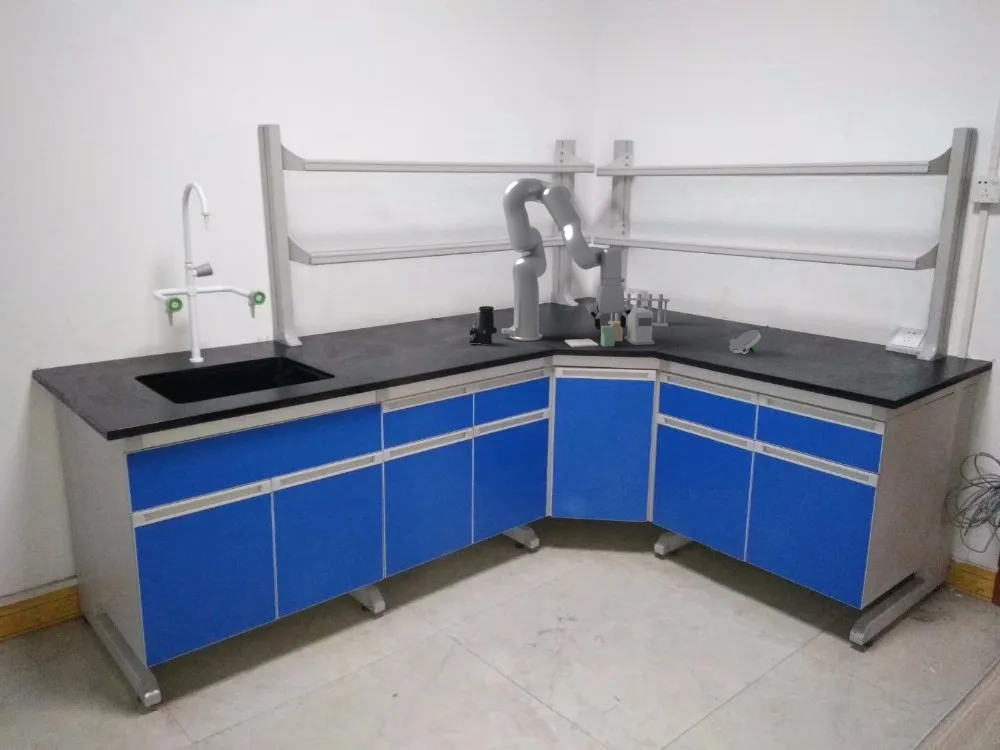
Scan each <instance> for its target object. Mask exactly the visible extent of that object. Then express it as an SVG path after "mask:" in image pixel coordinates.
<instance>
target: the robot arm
mask: <svg viewBox="0 0 1000 750" xmlns="http://www.w3.org/2000/svg"><path fill="white" fill-rule="evenodd" d="M571 195H572V194H571V192H570V189H569V188H568V187H566V186H565V185H562V184H558V183H554V182H550V181H547V180H543V179H540V178H533V177H531V178H530V177H529V178H528V177H527V178H526V177H525V178H523V177H522V178H518V179H516V180H513V182H511V183H510V184H509V185H508V186H507V188H505V190H504V193H503V195H502V207H503V212H504V216H505V221H506V227H507V233H508V238H509V244H510V247H511V249H512V251H515V252H516V253H520V254H521V256H520V257H519V258H517V260H515V261H514V264H513V266H512V271H511V272H512V280H513V296H514V297H513V325H511V326H510V327H509V328H507V327H503V328H501V334H507V335H509V338H510V339H511V340H514V341H521V342H527V341H528V342H531V341H532V342H533V341H539V340H541V339H543V334H542V333H540V332H539V326H540V325H539V321H540V320H539V319H540V318H539V316H540V314H539V313H540V311H539V310H540V309H539V308H540V289H539V288H540V287H539V281H538V280H539V279H538V278H540V277H542V276H544V274H545V273H546V271H547V267H548V266H547V265H548V264H547V258H546V252H545V247H544V241H543V237H542V234H541V233H540V231H539V229H537V228H536V227H535V226H532V225H531V223H530V219H529V215H528V214H529V213H528V210H527V208H526V203H527V202H535V203H538V204H542V205H544V207H545V208H546V210H547V211H548V213H549V214H550V216H551V218H552V219H553V221H554V223H555V224H556V226H557V228H558V229H559V231H560V234H561V237H562V239H563V242H564V243H563V244H564V245H565V248H566V250H567V251H568V254H569V255H570V257H571V258H572V259H573V262H574V263H575V264H576V265H577V266H578V267H579V268H580V269H581V270H585V271H586V270H590V269H593V268H596V267H599V268H600V269H599V271H600V272H599V273H600V279H599V280H600V283H599V284H600V285H598V286H597V289H596V298H595V302H593V303H592V304H590V305H589V306H587V310H588V312H589V314H590V315H591V316H592V317H593V318H594V327H595V329H596V330H600V331H601V318H600V317H601V316H602V315H603V314H611V313H613V314H615V313H619V315H621V316H619V321H620V326H621V327H622V328H623V329H625V328H626V326H627V325H626V317H627V316H628V314H629V313H630V312H631V310H632V308H634V305H633V304H632V303H631V302H630V303H628V302H626V300H625V298H626V297H625V290H624V286H623V285H622V283H625V281H626V278H624V277H622V249H620V248H619V247H599V246H589V244H588V243H587V241H586V239H585V238H584V235H583V232H582V229H581V228H582V220H581V217H580V215H579V214H578V212H577V210H576V209H575V207H574V206H573V203H572V202H571V199H572V196H571ZM626 305H627V306H628V309H627V310H626ZM594 309H595V311H596V312H594Z"/></svg>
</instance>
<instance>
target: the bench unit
mask: <svg viewBox="0 0 1000 750" xmlns="http://www.w3.org/2000/svg"><path fill="white" fill-rule="evenodd" d="M653 320H654V311H652V310H651V311H649V310H647V308H644V307H641V308H637V307H633V308H632V310H631V312H630V313H629V314H628V325H627V331H626V332H627V334H626V335H624V336H623V337H624V338H623V340H626V341H627V342H629V343H631V344H632V345H634V346H636V345H637V346H638V345H641V346H642V345H644V346H645V345H655V343H656V342H655V340H653V339H652V338H653V327H654V326H653V322H654V321H653Z"/></svg>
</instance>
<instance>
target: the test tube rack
mask: <svg viewBox="0 0 1000 750" xmlns="http://www.w3.org/2000/svg"><path fill="white" fill-rule="evenodd" d="M631 296H632V295H631V292H630V293H629V292H627V293H626V297H624V298H625V301H626V302H628V303H630V304H631V301H632V302H633V301H635V302H636V308H642V302H647V306H646V309H647V310H649V311H651V312H652V309H653V307H652V306H653V302H658V303H657V304H658V305H657V322H656V321H655V322H654V321H653V325H654V326H653V327H669V322H667V304H668V302H670V298H664V294H663V293H659V294H658V298H653V294H652V293H647V298H644V297H643V298H642V293H637V294H636V297H631ZM663 302H664V311H663ZM627 309H628V306H627V305H625V311H626V310H627ZM663 313H664V314H663ZM613 317H614V318H613ZM662 318H663V319H662ZM662 320H663V322H662ZM610 321H620V313H610V320H609V321H607V324H610ZM626 324H627V325H626V326H628V316H627V317H626Z"/></svg>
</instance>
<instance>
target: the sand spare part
mask: <svg viewBox="0 0 1000 750" xmlns="http://www.w3.org/2000/svg"><path fill="white" fill-rule="evenodd" d="M609 321H610V320H609ZM608 326H613V327H615V342H623V339H624V338H623V337H624V336H623V334H624V333H623V332H624V328H622V327H621V326H620V320H619V321H615V320H613V321H610V325H608Z"/></svg>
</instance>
